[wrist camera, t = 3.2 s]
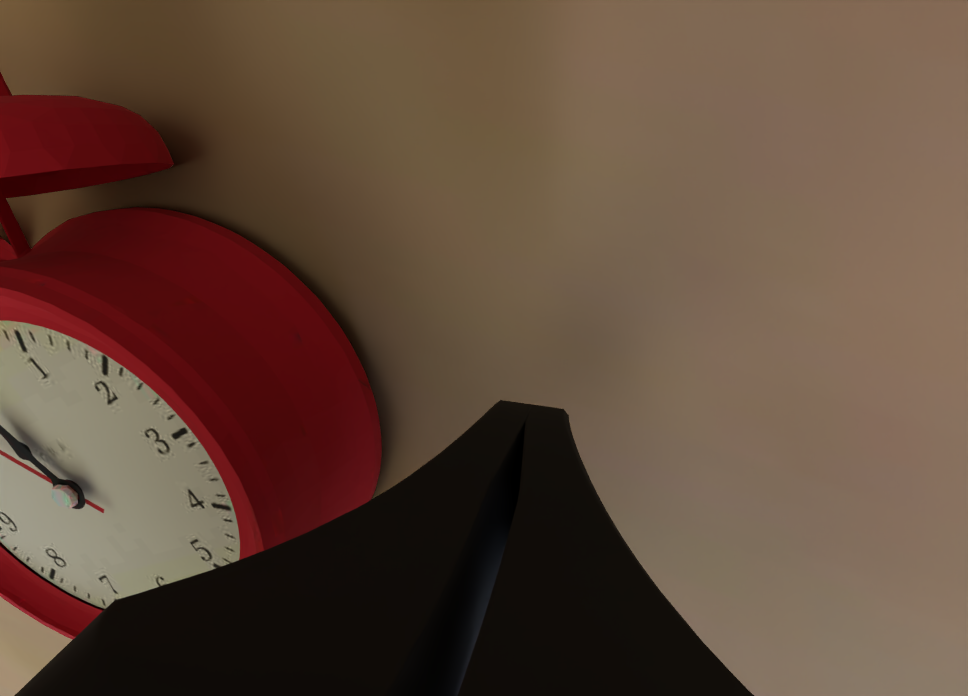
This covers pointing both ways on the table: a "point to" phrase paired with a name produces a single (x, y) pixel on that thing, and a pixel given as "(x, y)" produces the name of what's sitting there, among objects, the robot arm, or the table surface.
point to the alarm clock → (154, 382)
